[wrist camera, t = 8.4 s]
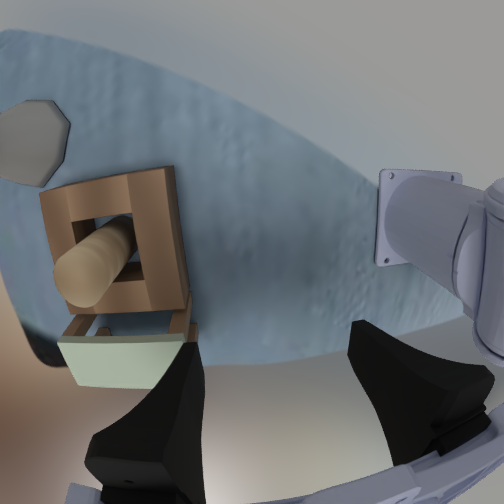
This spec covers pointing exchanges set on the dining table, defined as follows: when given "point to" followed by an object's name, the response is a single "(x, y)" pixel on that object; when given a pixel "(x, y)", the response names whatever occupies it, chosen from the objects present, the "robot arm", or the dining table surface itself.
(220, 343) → the dining table surface
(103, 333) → the bench
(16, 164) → the flask
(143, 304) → the socket
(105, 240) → the peg
